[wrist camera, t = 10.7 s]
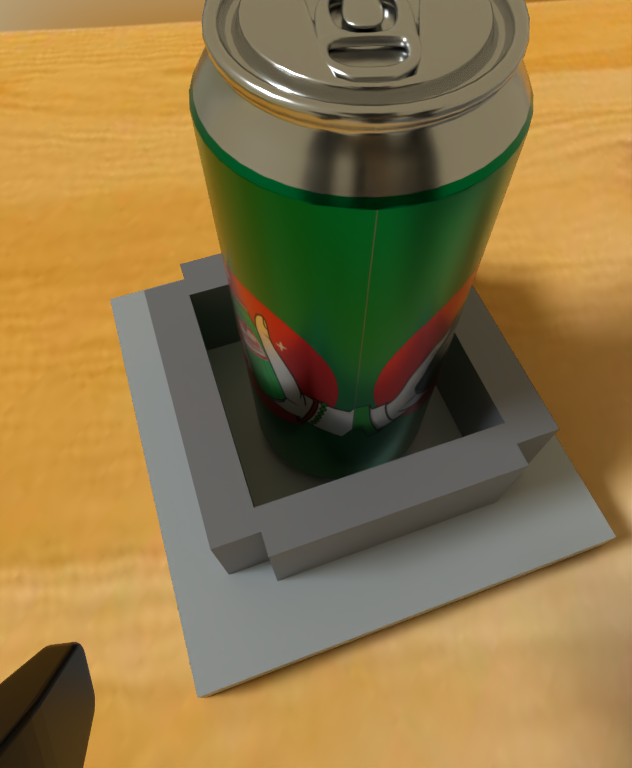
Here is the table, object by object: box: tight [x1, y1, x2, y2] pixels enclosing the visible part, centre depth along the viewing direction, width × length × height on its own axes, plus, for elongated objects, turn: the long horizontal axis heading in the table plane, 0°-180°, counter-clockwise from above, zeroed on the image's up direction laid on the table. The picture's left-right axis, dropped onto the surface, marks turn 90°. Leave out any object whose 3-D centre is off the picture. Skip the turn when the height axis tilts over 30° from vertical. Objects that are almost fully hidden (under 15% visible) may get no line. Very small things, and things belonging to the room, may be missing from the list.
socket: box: [110, 254, 616, 698], centre depth 17 cm, size 13×12×4 cm
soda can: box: [189, 0, 533, 480], centre depth 13 cm, size 5×5×12 cm
